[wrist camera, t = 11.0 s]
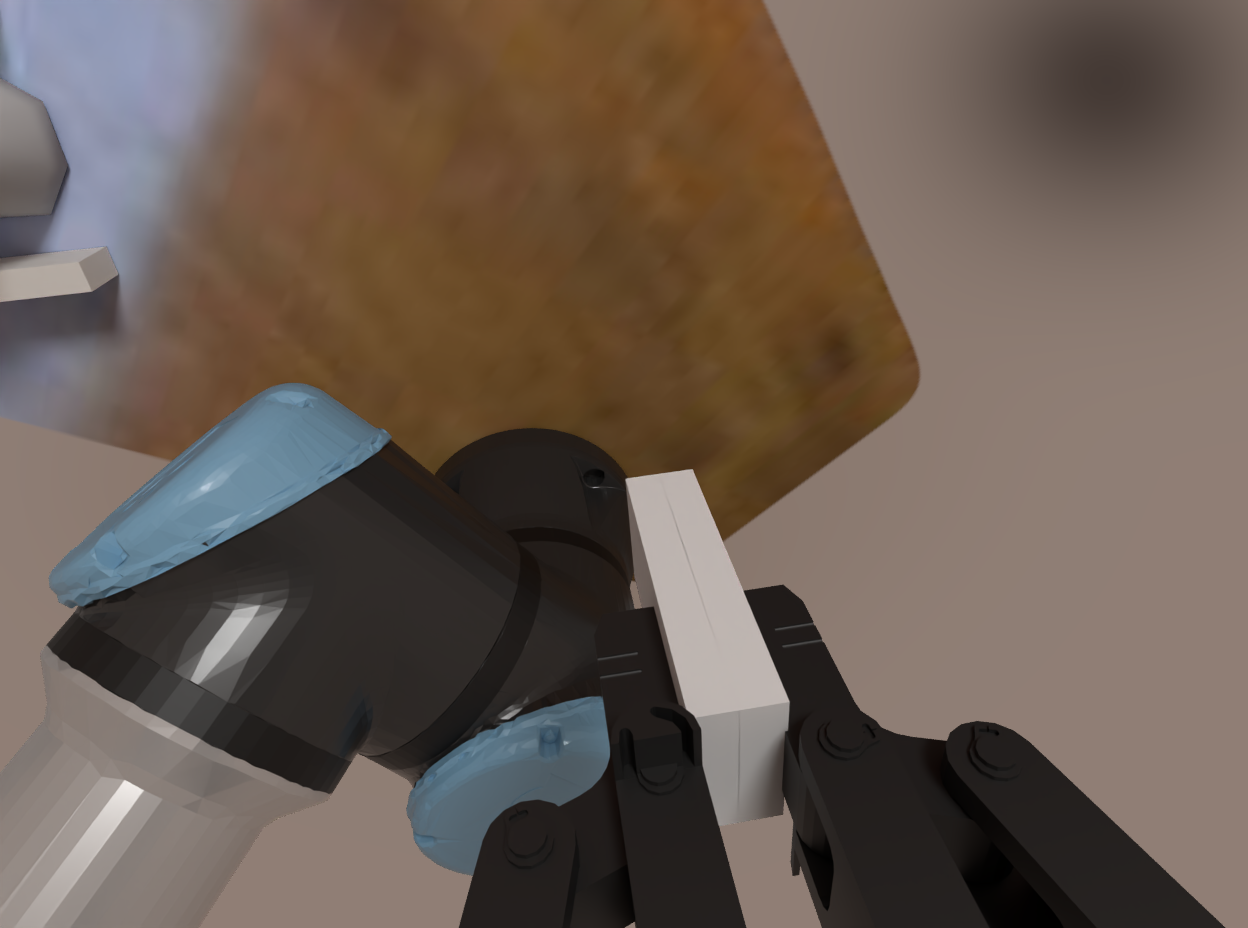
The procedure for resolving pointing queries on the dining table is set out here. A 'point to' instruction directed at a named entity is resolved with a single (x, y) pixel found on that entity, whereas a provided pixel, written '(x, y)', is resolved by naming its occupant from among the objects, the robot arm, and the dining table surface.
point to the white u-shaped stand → (55, 273)
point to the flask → (27, 155)
